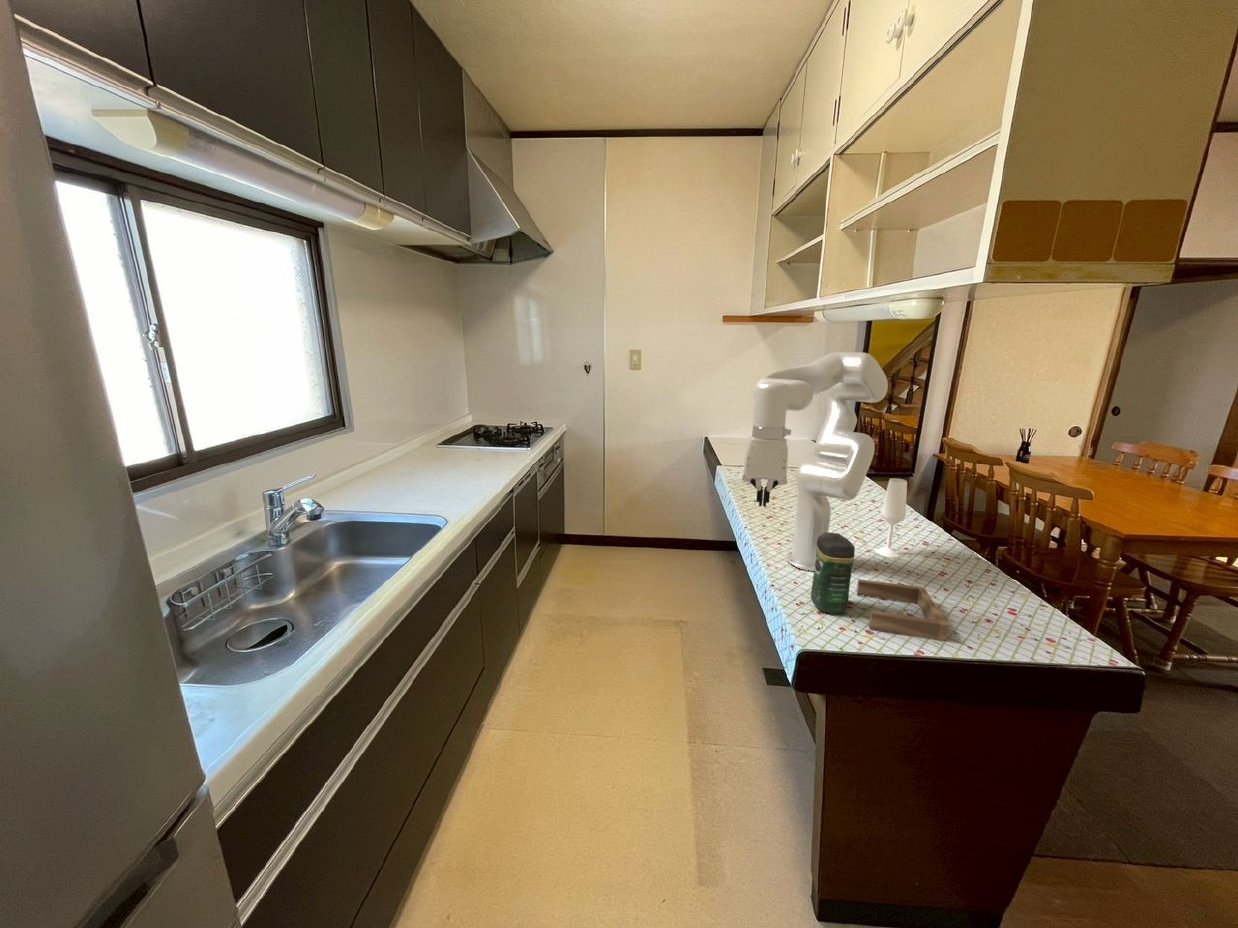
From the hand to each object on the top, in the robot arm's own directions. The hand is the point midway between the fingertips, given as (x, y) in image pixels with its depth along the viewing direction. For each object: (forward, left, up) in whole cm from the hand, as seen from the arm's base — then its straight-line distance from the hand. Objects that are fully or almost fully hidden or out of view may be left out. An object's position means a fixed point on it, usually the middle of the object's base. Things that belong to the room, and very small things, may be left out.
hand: (762, 504), depth 124 cm
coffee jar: (0, +18, -25) cm, 31 cm away
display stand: (0, +33, -25) cm, 41 cm away
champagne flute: (-40, +40, -25) cm, 62 cm away
